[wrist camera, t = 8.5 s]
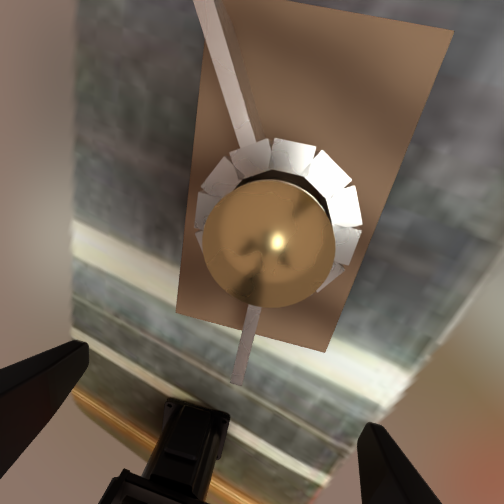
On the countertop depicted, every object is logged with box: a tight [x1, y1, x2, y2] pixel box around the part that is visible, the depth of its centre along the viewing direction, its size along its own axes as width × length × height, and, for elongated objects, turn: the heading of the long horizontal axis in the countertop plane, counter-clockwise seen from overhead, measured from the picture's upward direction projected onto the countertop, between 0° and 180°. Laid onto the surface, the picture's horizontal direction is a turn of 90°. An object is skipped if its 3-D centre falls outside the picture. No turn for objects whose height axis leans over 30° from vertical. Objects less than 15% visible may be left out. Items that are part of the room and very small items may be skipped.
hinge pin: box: [202, 178, 336, 308], centre depth 13 cm, size 5×5×8 cm
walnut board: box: [176, 0, 454, 353], centre depth 17 cm, size 20×12×1 cm, turn 169°
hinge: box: [193, 0, 363, 386], centre depth 14 cm, size 19×9×5 cm, turn 169°
